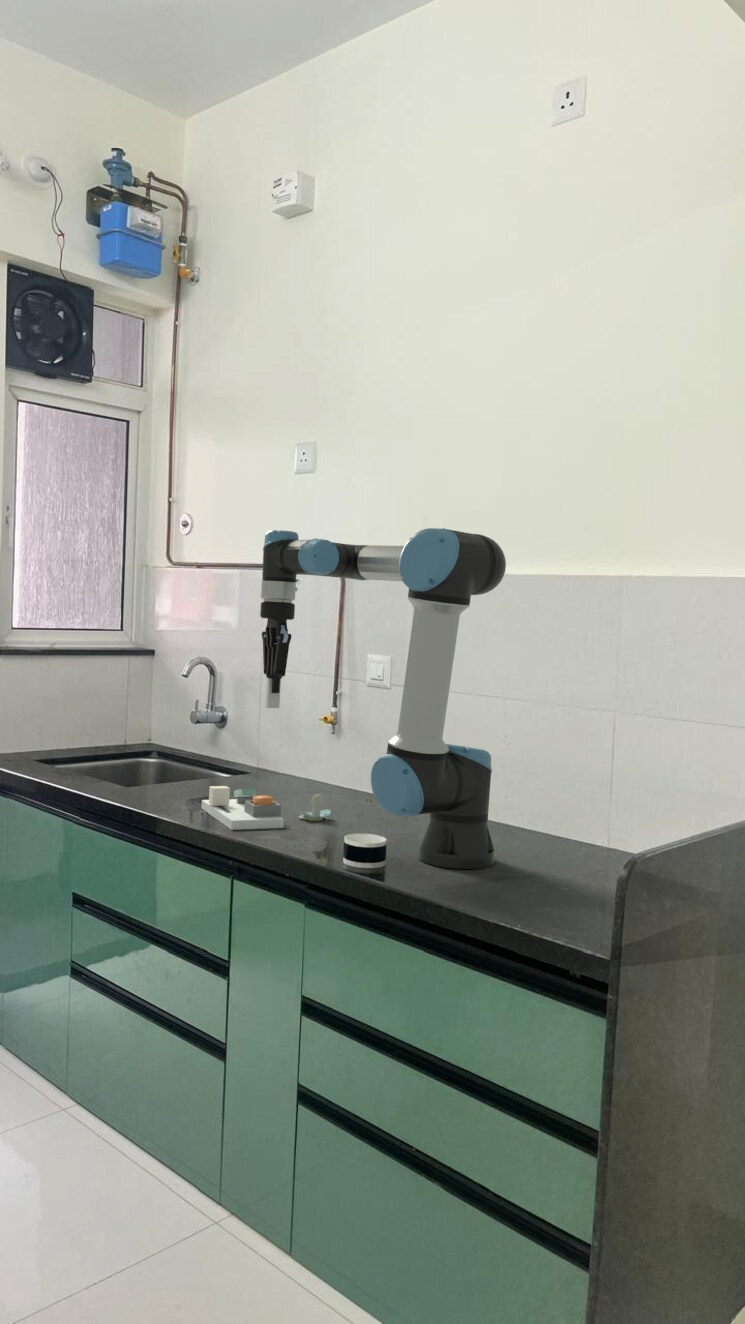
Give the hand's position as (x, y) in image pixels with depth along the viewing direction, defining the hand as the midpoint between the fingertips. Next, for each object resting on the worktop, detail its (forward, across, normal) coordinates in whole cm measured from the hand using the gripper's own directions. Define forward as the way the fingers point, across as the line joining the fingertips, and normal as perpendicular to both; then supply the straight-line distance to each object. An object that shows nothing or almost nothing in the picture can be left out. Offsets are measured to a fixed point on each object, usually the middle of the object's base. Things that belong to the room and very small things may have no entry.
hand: (272, 707), depth 224 cm
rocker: (+22, +16, 0) cm, 27 cm away
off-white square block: (+24, +14, +7) cm, 29 cm away
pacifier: (+27, +5, -13) cm, 30 cm away
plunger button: (+24, +3, 0) cm, 24 cm away
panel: (+26, +9, +3) cm, 28 cm away
